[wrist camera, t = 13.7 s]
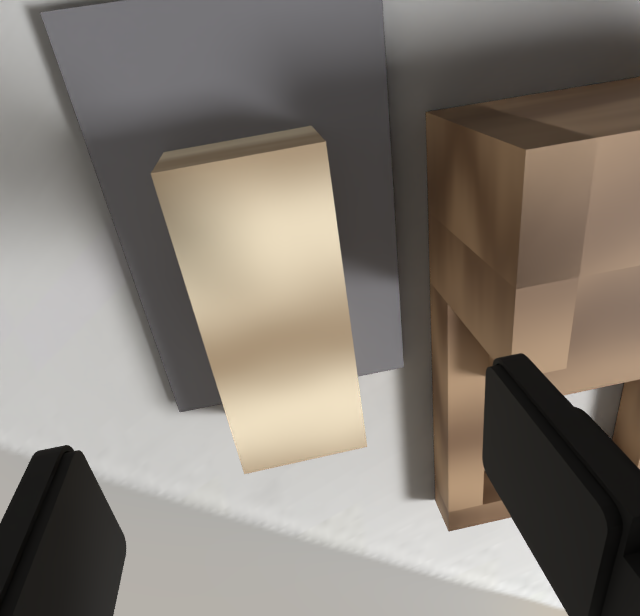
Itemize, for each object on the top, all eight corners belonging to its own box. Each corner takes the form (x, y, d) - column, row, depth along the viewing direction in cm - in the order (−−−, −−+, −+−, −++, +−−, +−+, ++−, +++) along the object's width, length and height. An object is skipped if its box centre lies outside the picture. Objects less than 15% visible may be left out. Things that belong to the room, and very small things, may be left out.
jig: (425, 111, 18) (525, 149, 12) (736, 60, 19) (980, 71, 13) (435, 500, 28) (491, 630, 22) (636, 455, 29) (746, 568, 23)
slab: (163, 152, 17) (150, 173, 14) (311, 125, 17) (325, 141, 14) (243, 423, 22) (244, 474, 20) (351, 399, 23) (367, 446, 20)
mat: (47, 13, 15) (39, 12, 14) (375, -34, 15) (380, -37, 15) (180, 403, 22) (179, 412, 22) (399, 359, 23) (403, 367, 22)
